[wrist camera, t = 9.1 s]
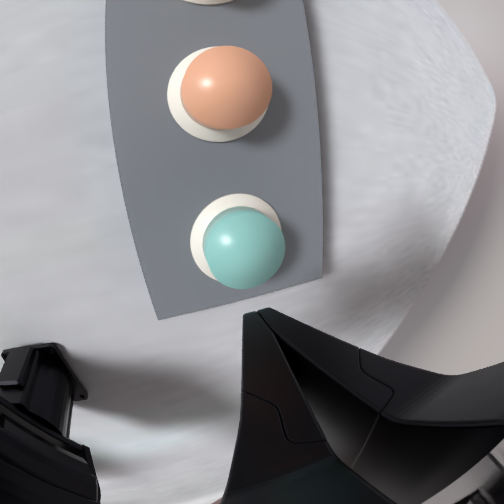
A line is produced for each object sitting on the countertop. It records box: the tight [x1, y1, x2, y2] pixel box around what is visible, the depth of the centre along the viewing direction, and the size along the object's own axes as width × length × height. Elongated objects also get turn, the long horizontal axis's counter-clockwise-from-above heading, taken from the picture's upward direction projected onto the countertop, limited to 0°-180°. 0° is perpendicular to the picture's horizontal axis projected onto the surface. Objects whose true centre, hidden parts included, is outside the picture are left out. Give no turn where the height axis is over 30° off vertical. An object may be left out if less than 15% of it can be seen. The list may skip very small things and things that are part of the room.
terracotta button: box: [180, 46, 272, 130], centre depth 11 cm, size 4×4×2 cm
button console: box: [105, 0, 323, 320], centre depth 13 cm, size 24×11×3 cm, turn 6°
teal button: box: [202, 206, 285, 289], centre depth 15 cm, size 4×4×2 cm
